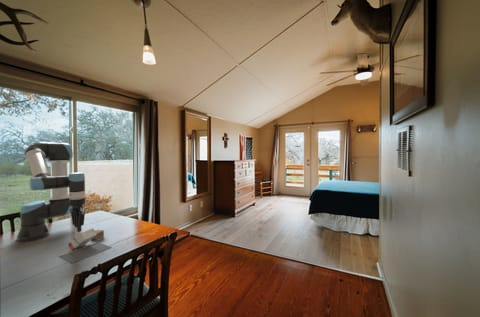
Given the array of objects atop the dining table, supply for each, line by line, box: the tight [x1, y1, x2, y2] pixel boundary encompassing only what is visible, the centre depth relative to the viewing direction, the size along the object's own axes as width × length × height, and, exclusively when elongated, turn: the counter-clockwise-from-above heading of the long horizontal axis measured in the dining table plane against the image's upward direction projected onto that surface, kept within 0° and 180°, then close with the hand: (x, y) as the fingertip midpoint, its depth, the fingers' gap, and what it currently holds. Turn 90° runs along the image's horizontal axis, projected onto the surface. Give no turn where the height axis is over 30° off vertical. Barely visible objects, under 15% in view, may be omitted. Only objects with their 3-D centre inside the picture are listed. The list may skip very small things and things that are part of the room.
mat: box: [58, 241, 112, 264], centre depth 115 cm, size 14×20×1 cm
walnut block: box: [90, 229, 105, 242], centre depth 133 cm, size 5×5×5 cm
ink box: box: [68, 227, 97, 251], centre depth 120 cm, size 9×5×12 cm
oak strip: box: [61, 241, 98, 256], centre depth 118 cm, size 1×18×1 cm, turn 153°
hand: (78, 236), depth 121 cm, fingers closed
